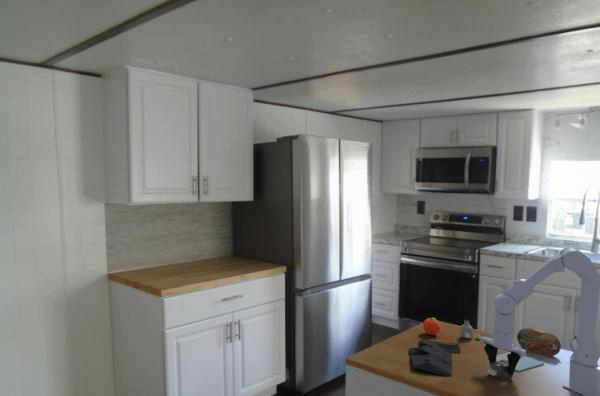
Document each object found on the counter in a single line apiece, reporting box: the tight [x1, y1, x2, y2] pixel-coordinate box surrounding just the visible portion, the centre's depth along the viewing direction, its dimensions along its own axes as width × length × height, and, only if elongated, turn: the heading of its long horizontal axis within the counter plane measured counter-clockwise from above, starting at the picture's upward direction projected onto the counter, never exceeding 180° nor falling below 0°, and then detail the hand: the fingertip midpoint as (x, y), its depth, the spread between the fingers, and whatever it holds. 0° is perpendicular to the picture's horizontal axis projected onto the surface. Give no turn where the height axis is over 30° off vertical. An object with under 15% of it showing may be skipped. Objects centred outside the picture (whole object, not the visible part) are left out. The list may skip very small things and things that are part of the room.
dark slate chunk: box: [409, 339, 453, 377], centre depth 153 cm, size 15×22×5 cm
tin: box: [516, 327, 562, 358], centre depth 163 cm, size 15×3×8 cm, turn 37°
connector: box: [487, 360, 514, 380], centre depth 143 cm, size 4×10×4 cm, turn 118°
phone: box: [418, 339, 461, 354], centre depth 167 cm, size 8×1×15 cm
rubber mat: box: [496, 351, 545, 373], centre depth 154 cm, size 12×14×1 cm
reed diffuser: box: [456, 289, 482, 340], centre depth 178 cm, size 10×7×20 cm
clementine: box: [422, 317, 441, 336], centre depth 181 cm, size 8×7×7 cm
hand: (501, 370), depth 143 cm, fingers open, 6 cm apart
